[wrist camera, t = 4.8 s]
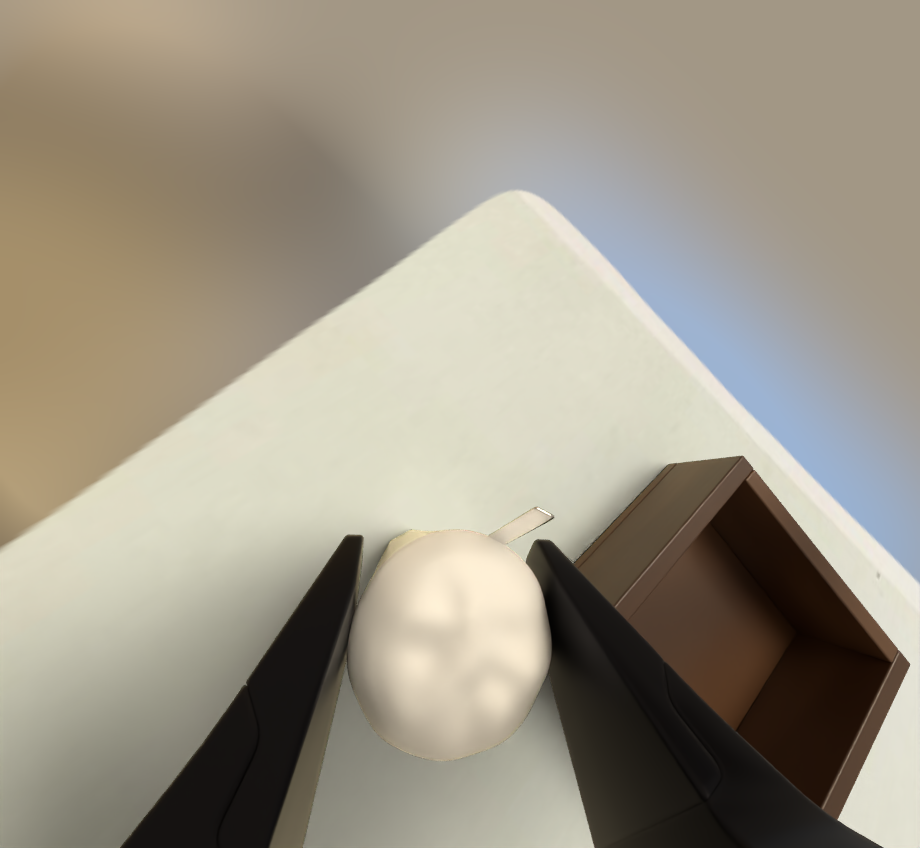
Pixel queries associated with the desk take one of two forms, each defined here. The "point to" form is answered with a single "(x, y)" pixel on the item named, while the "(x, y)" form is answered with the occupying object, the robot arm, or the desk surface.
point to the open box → (752, 620)
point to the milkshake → (450, 640)
